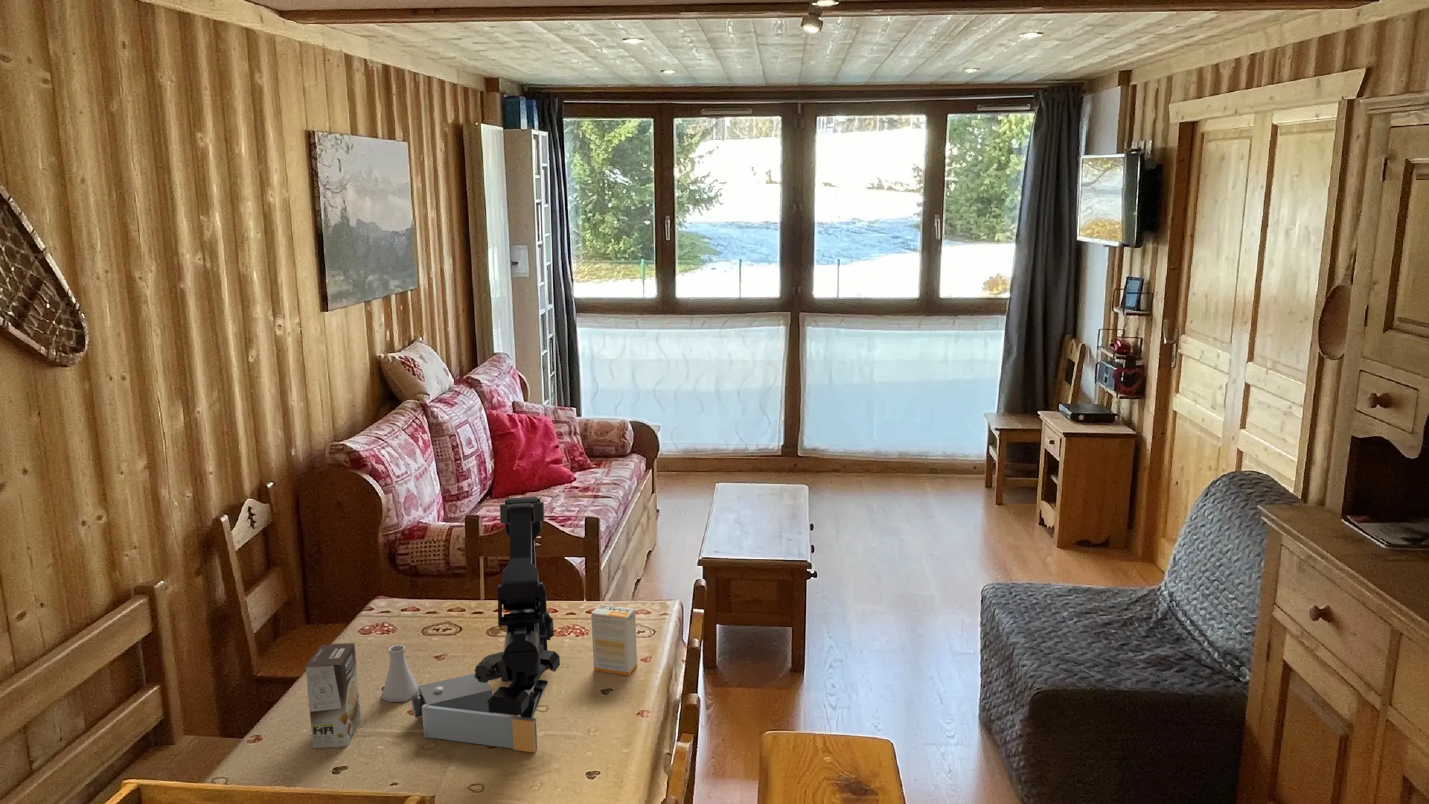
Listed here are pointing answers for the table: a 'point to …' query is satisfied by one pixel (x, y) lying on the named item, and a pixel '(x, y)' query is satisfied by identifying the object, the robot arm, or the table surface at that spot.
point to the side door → (480, 728)
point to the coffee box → (333, 695)
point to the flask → (399, 678)
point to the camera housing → (453, 695)
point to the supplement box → (614, 639)
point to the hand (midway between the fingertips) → (527, 723)
